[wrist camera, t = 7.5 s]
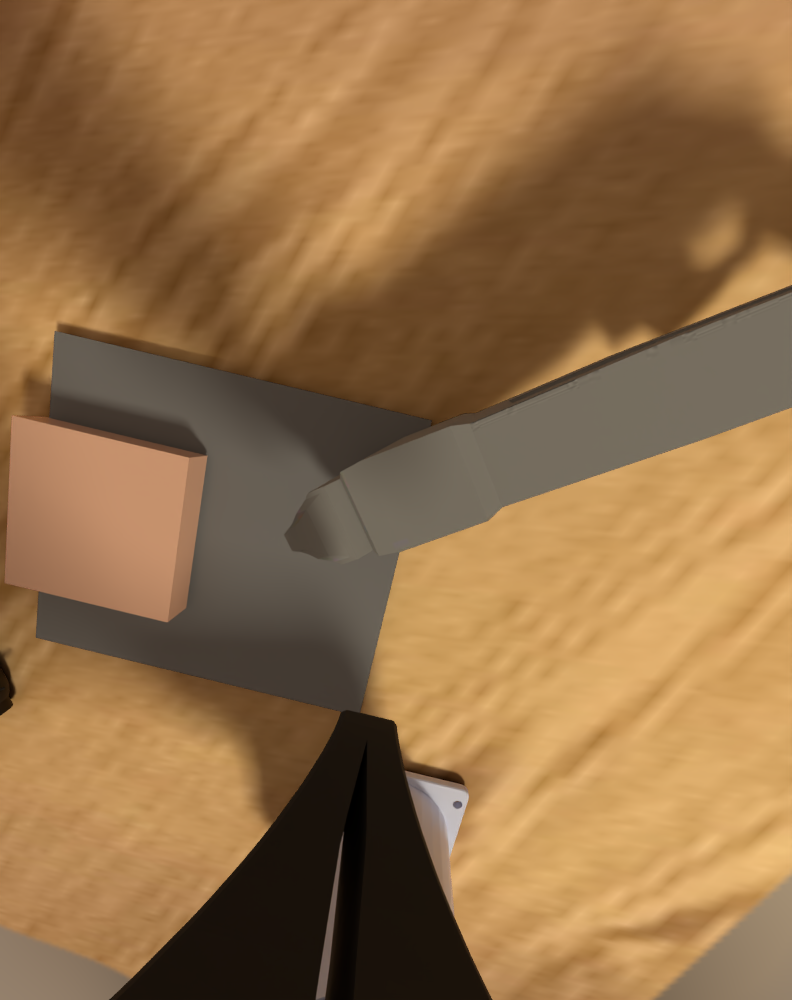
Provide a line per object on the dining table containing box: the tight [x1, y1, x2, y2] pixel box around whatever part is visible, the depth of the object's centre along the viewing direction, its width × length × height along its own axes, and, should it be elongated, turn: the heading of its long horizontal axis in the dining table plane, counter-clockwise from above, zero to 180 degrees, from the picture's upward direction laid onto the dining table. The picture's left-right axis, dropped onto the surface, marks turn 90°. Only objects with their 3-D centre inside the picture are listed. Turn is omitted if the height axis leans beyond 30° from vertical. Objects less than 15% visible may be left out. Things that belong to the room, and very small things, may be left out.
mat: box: [36, 331, 432, 713], centre depth 19 cm, size 16×18×1 cm
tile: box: [5, 415, 207, 622], centre depth 18 cm, size 8×2×8 cm
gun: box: [284, 285, 792, 565], centre depth 14 cm, size 3×25×15 cm, turn 113°
